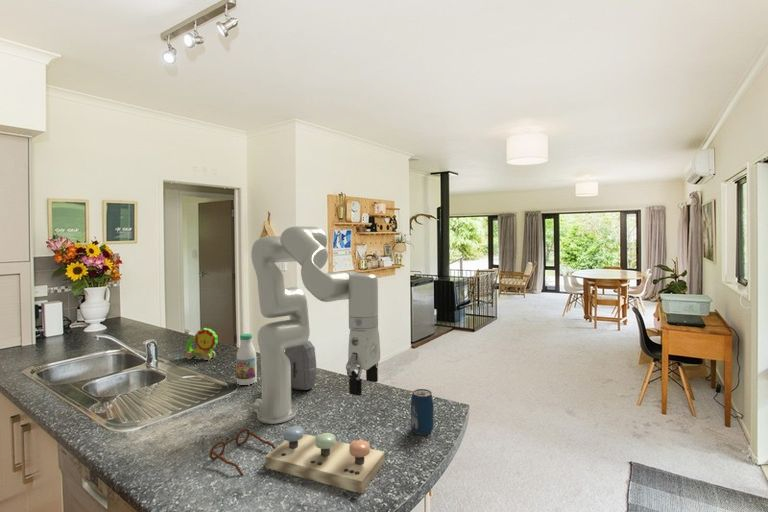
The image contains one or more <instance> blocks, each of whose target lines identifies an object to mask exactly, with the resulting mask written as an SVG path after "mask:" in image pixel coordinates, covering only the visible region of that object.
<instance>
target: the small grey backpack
mask: <svg viewBox="0 0 768 512" xmlns="http://www.w3.org/2000/svg"><path fill="white" fill-rule="evenodd" d="M315 349H316V348H315V346H314V344H313V343H312V342H311V341H310V340H308V341H307V342H306V343H305V344H303V345H301V346H297V347H293V348H288V349H285V350H284V353H285V354H286V356H287V357H288V358H289V360H290V363H291V389H294V390H300V391H308V390H311V389H312V388H314V386H315V381H316V379H317V377H316V376H317V356H316V350H315Z"/></svg>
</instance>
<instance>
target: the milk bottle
mask: <svg viewBox="0 0 768 512" xmlns="http://www.w3.org/2000/svg"><path fill="white" fill-rule="evenodd" d="M239 341H240V345H239V348H238V350H237V352H236V383H237V385H238V384H239V385H238V386H240V385H248V386H251V385H250V384H252V385H254V384H253V383H255V382H256V383H257V380H258V375H257V374H258V373H257V372H258V371H257V365H258V364H257V352H256V350H255V347H254V345H253V342H252V341H253V335H252V333H241V334H240V335H239ZM256 383H255V384H256Z"/></svg>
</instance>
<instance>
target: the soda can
mask: <svg viewBox="0 0 768 512" xmlns="http://www.w3.org/2000/svg"><path fill="white" fill-rule="evenodd" d="M434 401H435V400H434V396H433V394H432V391H431V390H429V389H427V388H426V389H425V388H417V389H415V390H413V391H412V395H411V397H410V427H411V429H412V431H413V432H414V433H415V434H417V435H419V436H420V435H421V436H422V435H423V436H424V435H429V434H430V433H431V432H432V431H433V430H434Z"/></svg>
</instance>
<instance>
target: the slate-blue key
mask: <svg viewBox="0 0 768 512" xmlns="http://www.w3.org/2000/svg"><path fill="white" fill-rule="evenodd" d="M303 434H304V428H303V427H302V426H298V425H297V426H296V425H293V426H289V427H286V428H285V429H284V430H283V440H284V441H285V440H286V441H297V440H300V439H301V438H302V437H303Z"/></svg>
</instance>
